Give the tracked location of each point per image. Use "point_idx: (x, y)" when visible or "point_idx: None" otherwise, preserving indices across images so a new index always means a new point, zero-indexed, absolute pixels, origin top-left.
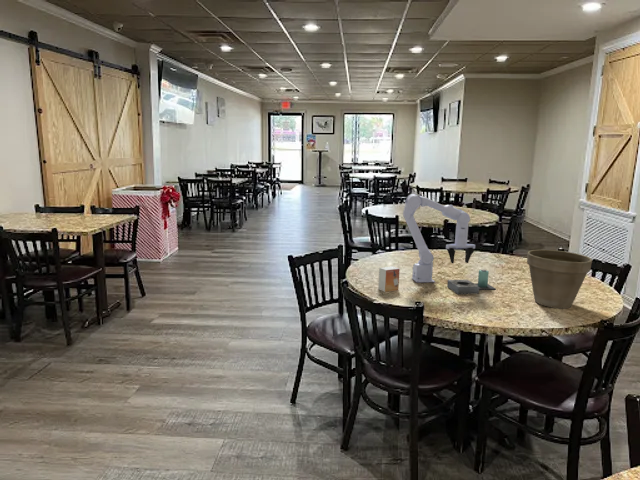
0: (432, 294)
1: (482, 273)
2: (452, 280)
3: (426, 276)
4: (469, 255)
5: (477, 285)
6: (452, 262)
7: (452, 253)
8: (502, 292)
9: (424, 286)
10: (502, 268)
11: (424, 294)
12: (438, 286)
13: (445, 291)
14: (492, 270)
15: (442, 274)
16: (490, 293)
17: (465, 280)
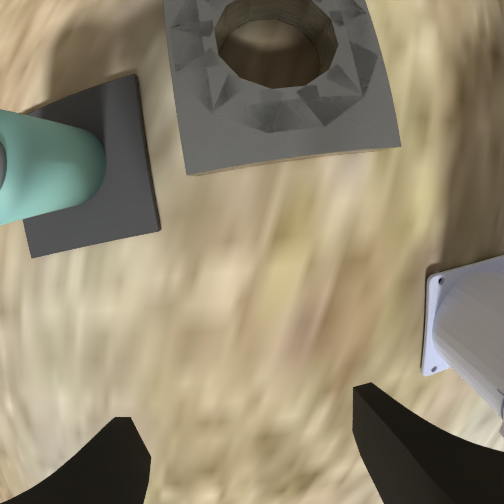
0: (470, 14)
1: (19, 114)
2: (362, 125)
3: (499, 280)
4: (56, 492)
5: (104, 181)
6: (377, 387)
7: (497, 466)
8: (5, 75)
9: (499, 171)
10: (8, 492)
11: (500, 26)
12: (429, 167)
13: (403, 45)
14: None
15: (297, 463)
16: (80, 26)
17: (220, 130)
